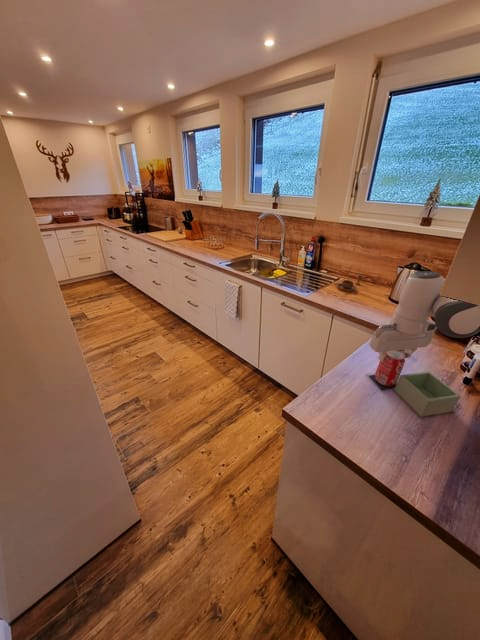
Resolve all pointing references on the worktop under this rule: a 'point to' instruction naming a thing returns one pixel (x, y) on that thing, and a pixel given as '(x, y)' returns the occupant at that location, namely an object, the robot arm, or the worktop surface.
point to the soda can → (390, 368)
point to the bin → (426, 393)
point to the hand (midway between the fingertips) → (394, 358)
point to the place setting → (348, 285)
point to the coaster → (381, 384)
